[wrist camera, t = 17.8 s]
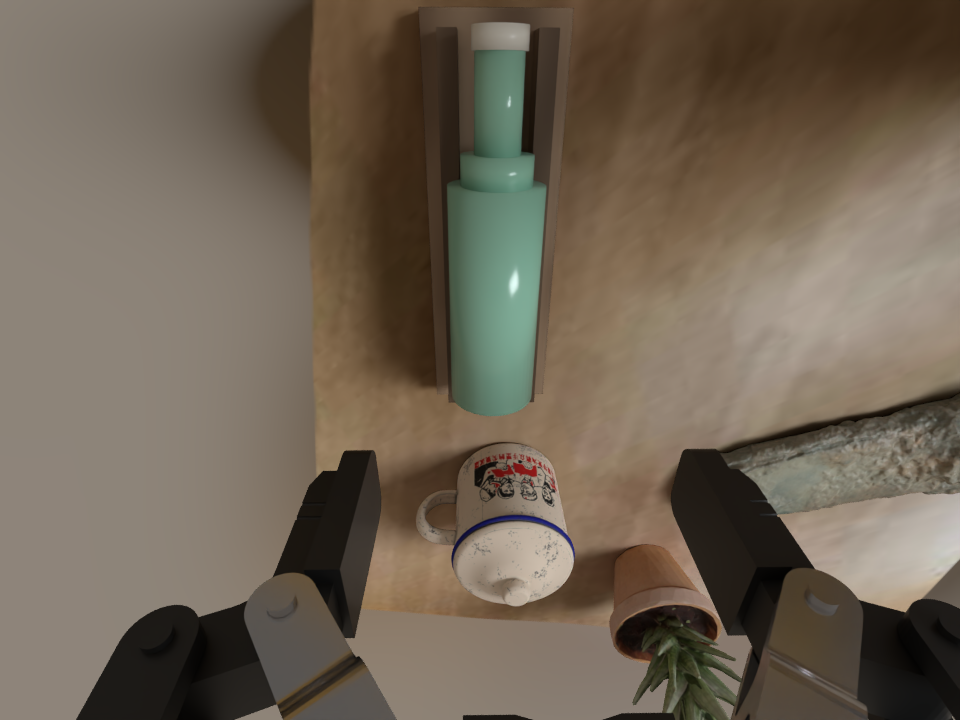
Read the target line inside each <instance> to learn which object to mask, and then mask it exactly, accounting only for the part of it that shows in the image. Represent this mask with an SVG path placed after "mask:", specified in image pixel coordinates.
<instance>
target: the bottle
mask: <svg viewBox="0 0 960 720" xmlns="http://www.w3.org/2000/svg"><path fill="white" fill-rule="evenodd" d="M529 43H530V25H529V24H524V23H508V22H488V23H475V24H471V51H474V151H468V152H463V153H461V154H460V179H459V180H455V181H452V182H450V183H448V184H447V205H448V248H449V291H450V334H451V378H452V397H453V399H454V401H455V402H456V404H457V405H458V406H460V407H461V408H463V409H464V410H466V411H469V412H471V413H474V414H479V415H485V416H502V415H507V414H511V413H514V412H517V411H519V410H521V409H522V408H524V407H525V406H526V405H527V404H528V403H529V401H530V400H531V395H532V381H533V367H534V354H535V340H536V326H537V312H538V298H539V284H540V271H541V257H542V243H543V229H544V215H545V201H546V185H545V184H543V183H541V182H538V181H535V180H533V178H534V161H535V155H534V154H532V153H528V152H522V151H521V145H522V124H523V102H524V80H525V59H526V52H527V51H529Z"/></svg>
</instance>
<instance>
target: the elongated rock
mask: <svg viewBox="0 0 960 720" xmlns="http://www.w3.org/2000/svg"><path fill="white" fill-rule="evenodd" d="M720 454H721V456H722V457H723V459H724V460H725V462H726V463H727V465H728V467H729V468H730V469H739V470H740V471H742V472H743V473H744V474H745V475H747V476H748V477H749V478H750V479H752V480H753V481H754V482H755V483H756V484H757V485H758V487H759V488H760V489H761V491H762V492H763V494H764V495H765V497H766V498H767V500H768V503H770V504H771V506H772V507H773V508H774V510H775V511H776V513H777V515H778V514H789V513H794V512H808V511H812V510H818V509H821V508H831V507H833V506H837V505H840V504H844V503H850V502H859V501H865V500H871V499H875V498H891V497H896V496H900V495H905V494H910V493H919V492H922V493H924V494H941V493H945V494H955V493H959V492H960V392H959V393H958V394H957V395H955V396H954V397H953V398H951V399H945V400H942V401H935V402H930V403H925V404H921V405H916V406H913V407H911V408H905V409H903V410H901V411H898V412H895V413H893V414H892V415H890V416H885V417H874V418H868V419H867V418H865V419H863V420H859V421H857V422H856V423H855V422H854V421H844V422H842V423H841V424H839V425H837V426H833V425H830V426H828V427H826V428H822V429H820V430H817V431H812V432H808V433H804V434H801V435H796V436H789V437H786V438H780V439H775V440H771V441H766V442H762V443H756V444H753V445H747V446H745V447H743V448H740V449H736V450H735V451H733V452H730V453H720Z"/></svg>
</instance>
